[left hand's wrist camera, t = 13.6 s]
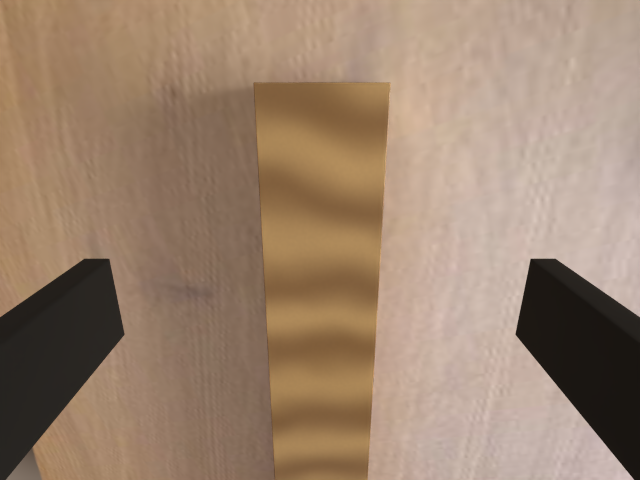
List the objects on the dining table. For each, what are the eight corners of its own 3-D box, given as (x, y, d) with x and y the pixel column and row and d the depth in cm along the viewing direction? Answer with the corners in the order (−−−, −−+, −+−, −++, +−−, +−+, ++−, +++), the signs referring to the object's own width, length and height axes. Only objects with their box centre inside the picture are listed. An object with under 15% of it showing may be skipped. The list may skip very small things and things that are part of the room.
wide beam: (266, 85, 33) (253, 82, 27) (377, 85, 33) (390, 82, 27) (286, 545, 53) (281, 607, 47) (355, 545, 53) (359, 607, 47)
